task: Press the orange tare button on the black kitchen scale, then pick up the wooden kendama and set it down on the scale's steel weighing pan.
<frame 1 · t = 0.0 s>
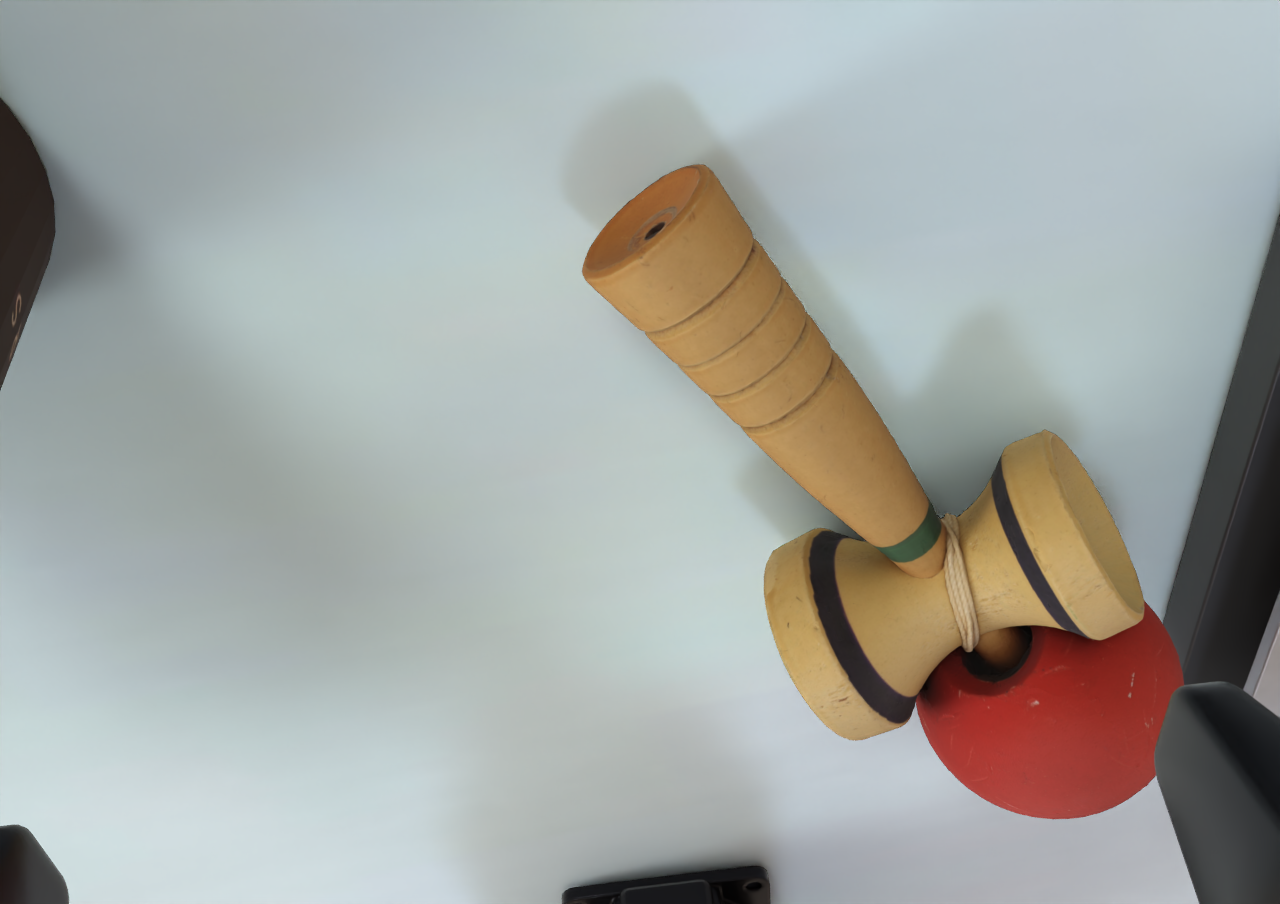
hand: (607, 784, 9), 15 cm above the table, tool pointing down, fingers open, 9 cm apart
kendama: (871, 452, 27), on the table
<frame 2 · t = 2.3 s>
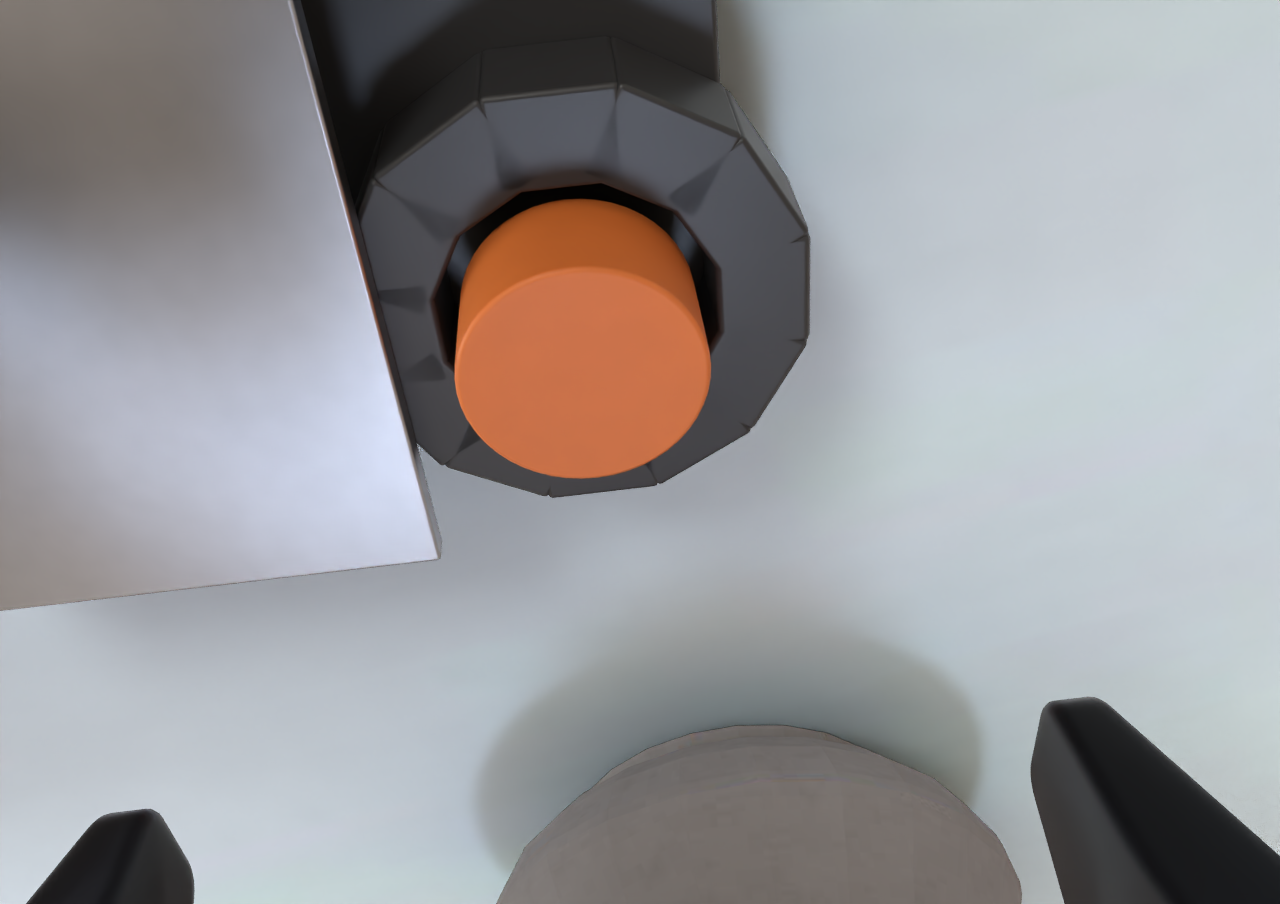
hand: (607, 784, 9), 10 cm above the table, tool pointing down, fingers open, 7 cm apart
tare button: (581, 340, 14), point 4 cm above the table, slide at 0.2 cm
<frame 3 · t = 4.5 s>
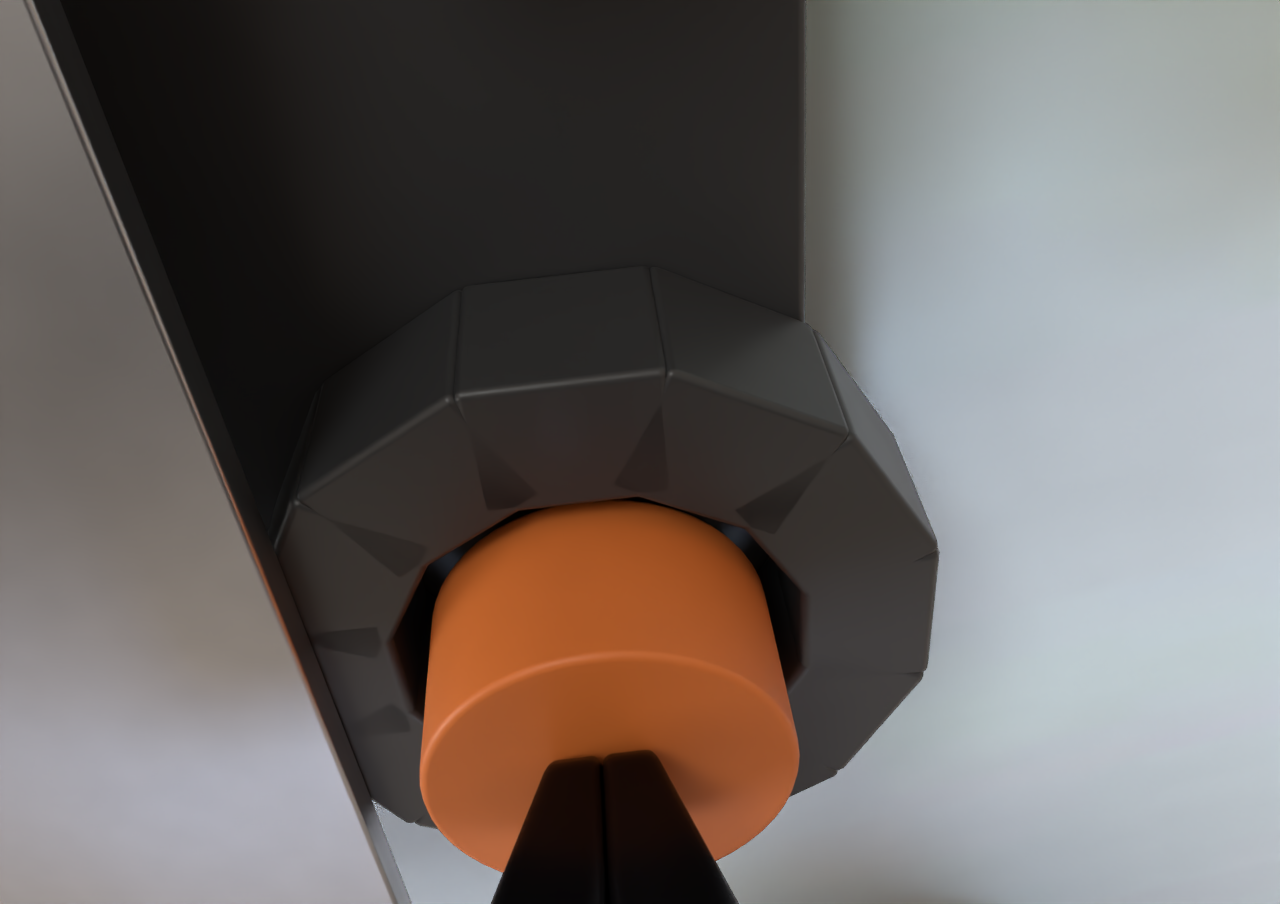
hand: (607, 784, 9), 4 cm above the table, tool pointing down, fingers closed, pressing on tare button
tare button: (605, 698, 10), point 3 cm above the table, slide at 0.1 cm, touching gripper
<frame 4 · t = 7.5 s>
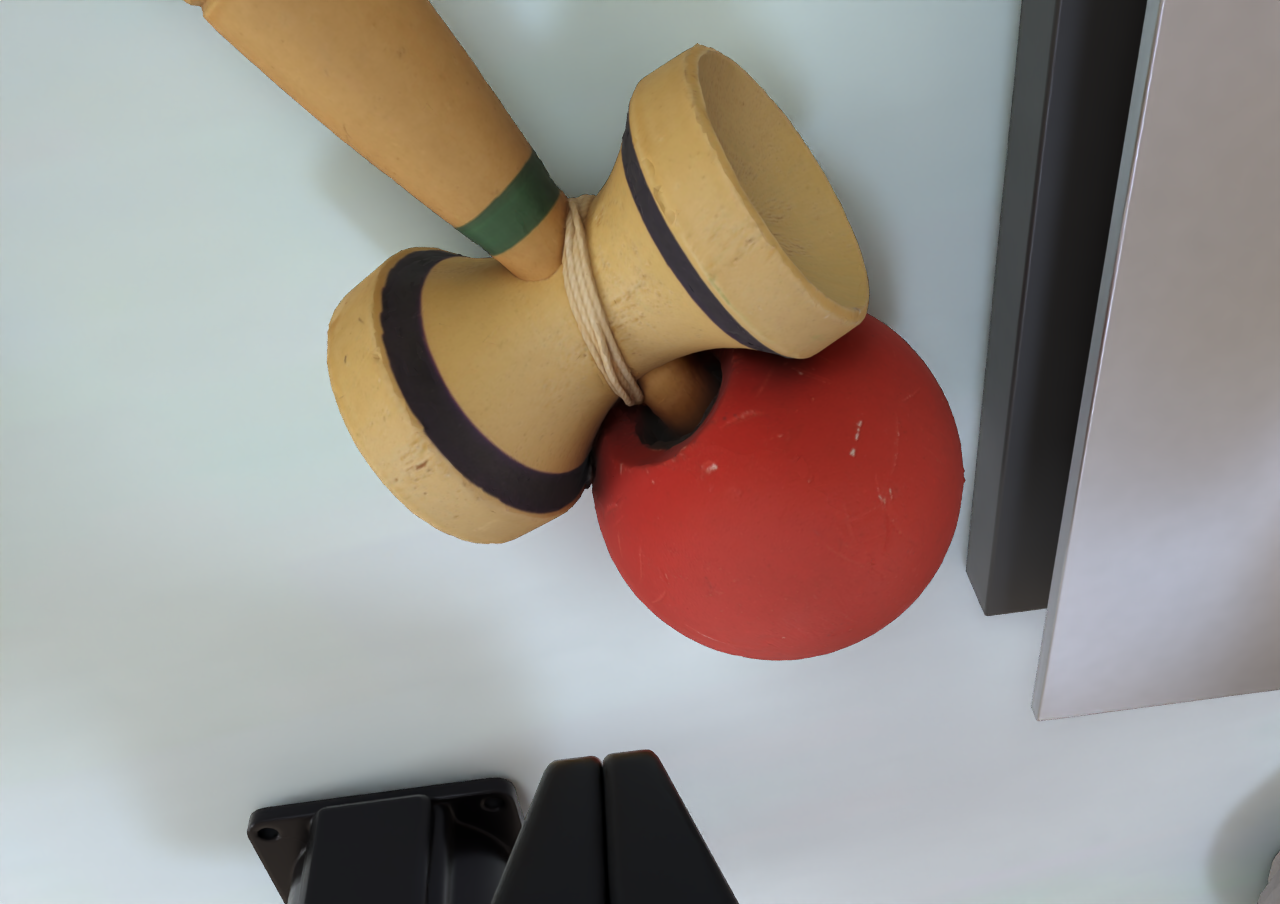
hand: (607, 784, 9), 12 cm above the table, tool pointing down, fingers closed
kendama: (510, 137, 18), on the table
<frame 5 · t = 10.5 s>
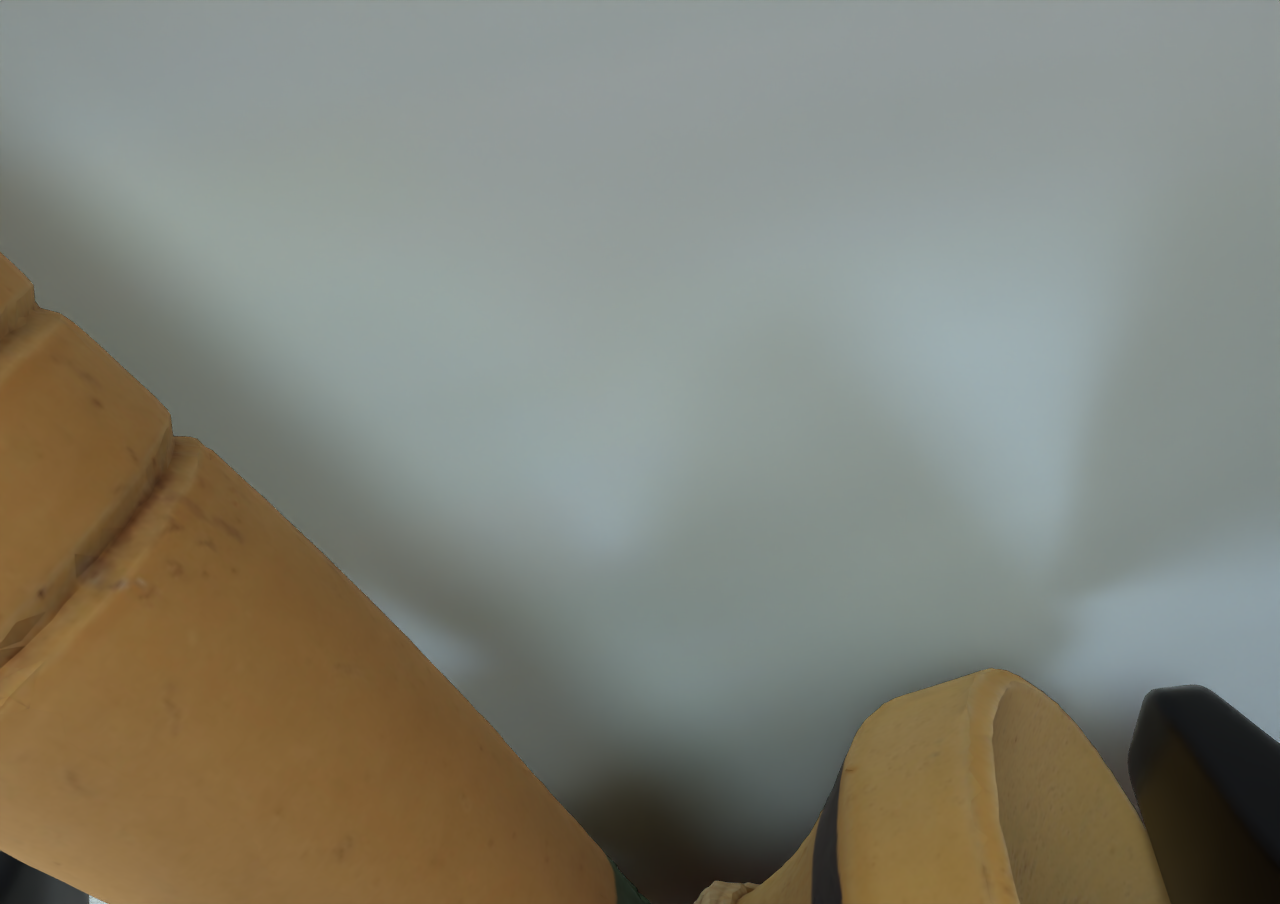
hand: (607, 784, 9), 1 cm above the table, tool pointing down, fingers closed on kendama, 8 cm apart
kendama: (551, 682, 10), on the table, touching gripper
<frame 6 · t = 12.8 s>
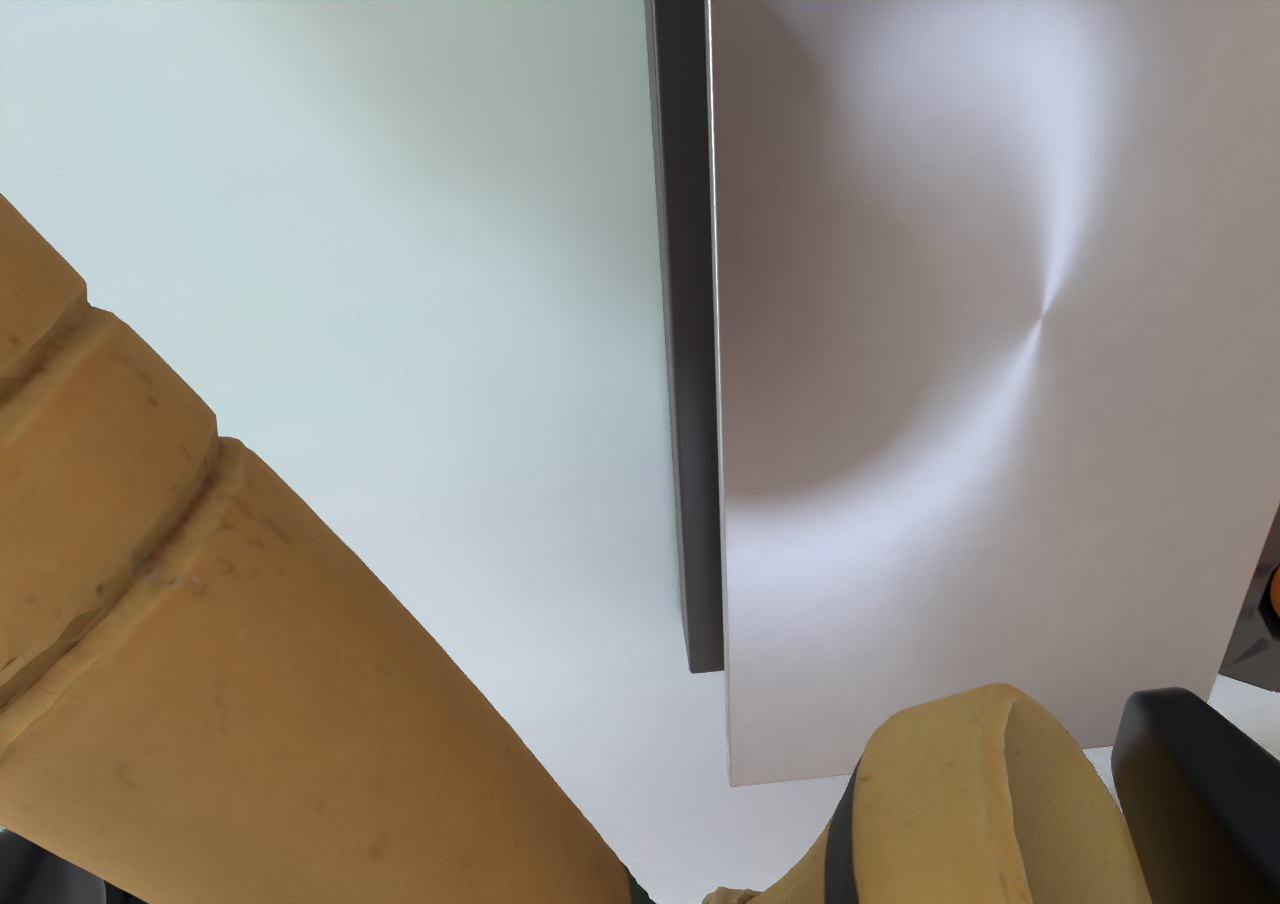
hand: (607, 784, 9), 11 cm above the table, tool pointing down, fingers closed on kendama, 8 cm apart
scale: (1090, 194, 19), on the table
kendama: (555, 688, 11), point 10 cm above the table, touching gripper
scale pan: (967, 206, 19), resting on scale
when the fingers open (5 cm above the table, at t = 15.5 s): kendama stays where it is, resting on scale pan.
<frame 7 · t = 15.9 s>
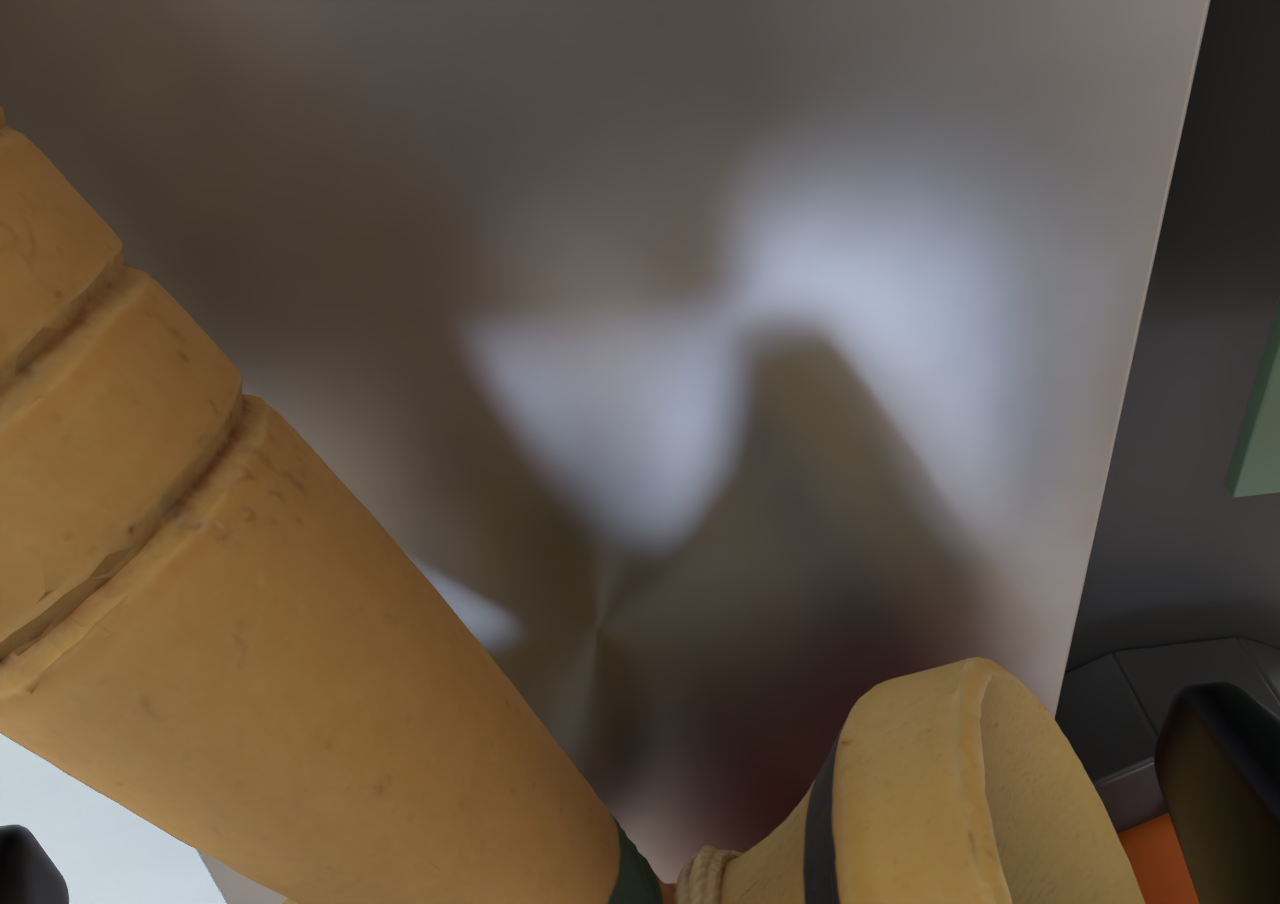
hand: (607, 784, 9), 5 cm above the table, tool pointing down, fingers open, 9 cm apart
scale: (756, 387, 13), on the table
kendama: (554, 651, 11), point 3 cm above the table, touching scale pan
scale display: (1259, 29, 11), resting on scale
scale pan: (581, 408, 13), resting on scale
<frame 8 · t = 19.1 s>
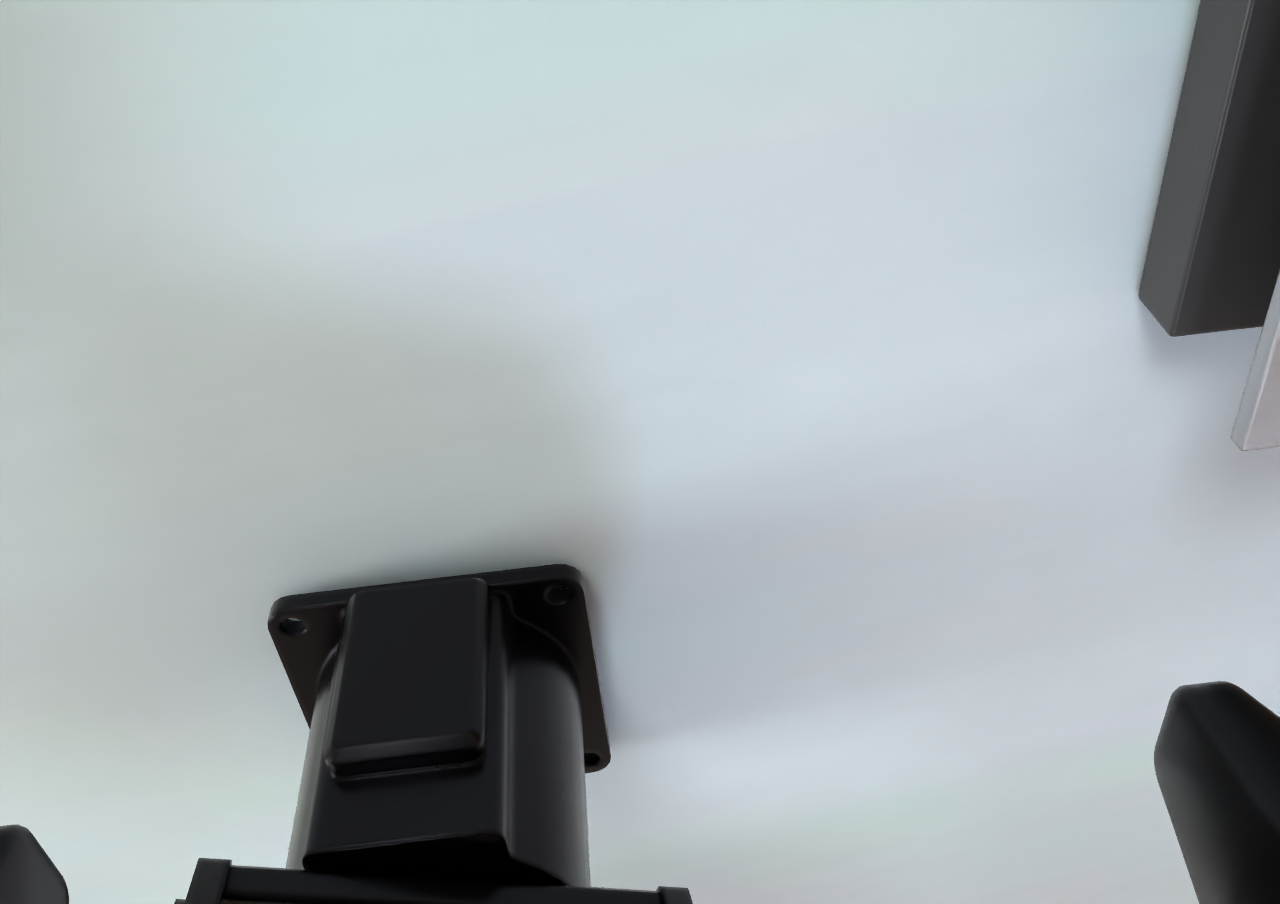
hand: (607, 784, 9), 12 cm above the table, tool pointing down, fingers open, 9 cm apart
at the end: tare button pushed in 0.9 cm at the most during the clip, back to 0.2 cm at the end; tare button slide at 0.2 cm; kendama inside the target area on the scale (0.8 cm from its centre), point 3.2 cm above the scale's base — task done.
